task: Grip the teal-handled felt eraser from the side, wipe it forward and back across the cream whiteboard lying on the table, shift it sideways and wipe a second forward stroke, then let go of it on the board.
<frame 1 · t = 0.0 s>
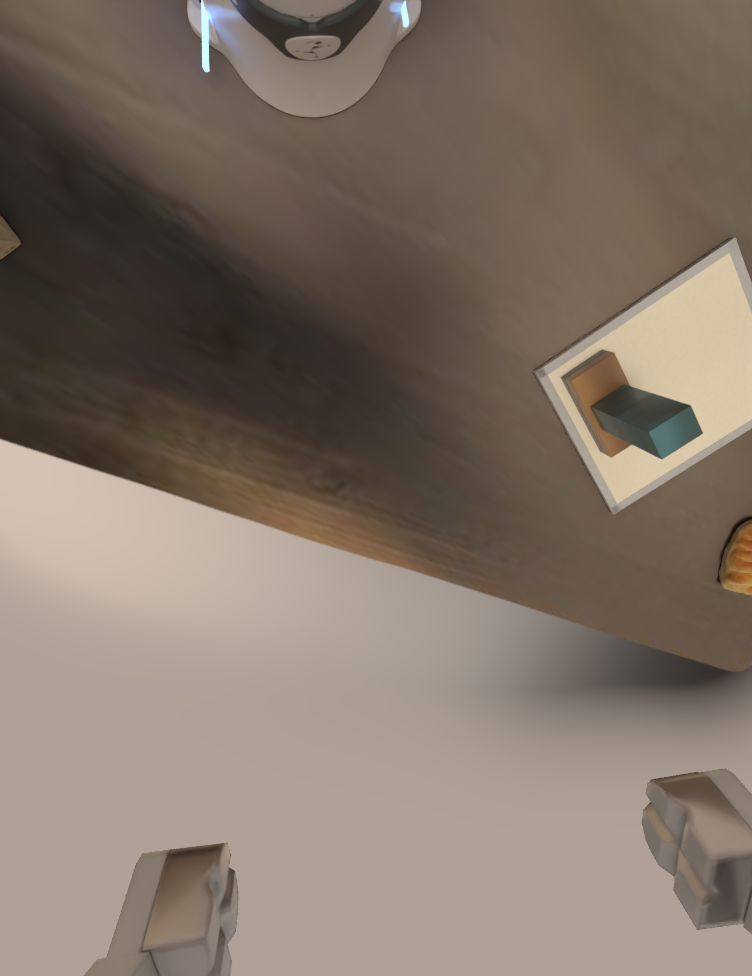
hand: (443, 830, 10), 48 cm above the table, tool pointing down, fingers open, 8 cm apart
whiteboard: (664, 386, 58), on the table
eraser: (600, 402, 57), point 1 cm above the table, touching whiteboard
pastry: (740, 554, 67), on the table
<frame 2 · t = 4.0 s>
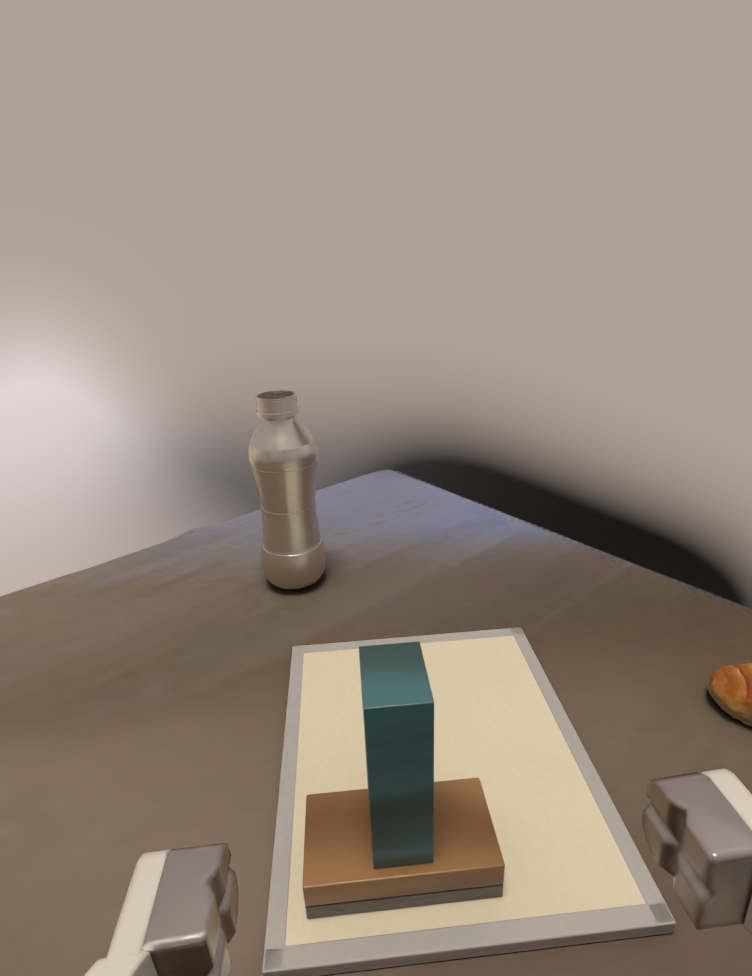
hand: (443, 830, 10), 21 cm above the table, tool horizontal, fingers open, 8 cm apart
whiteboard: (431, 755, 36), on the table
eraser: (399, 857, 29), point 1 cm above the table, touching whiteboard
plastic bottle: (296, 581, 57), on the table
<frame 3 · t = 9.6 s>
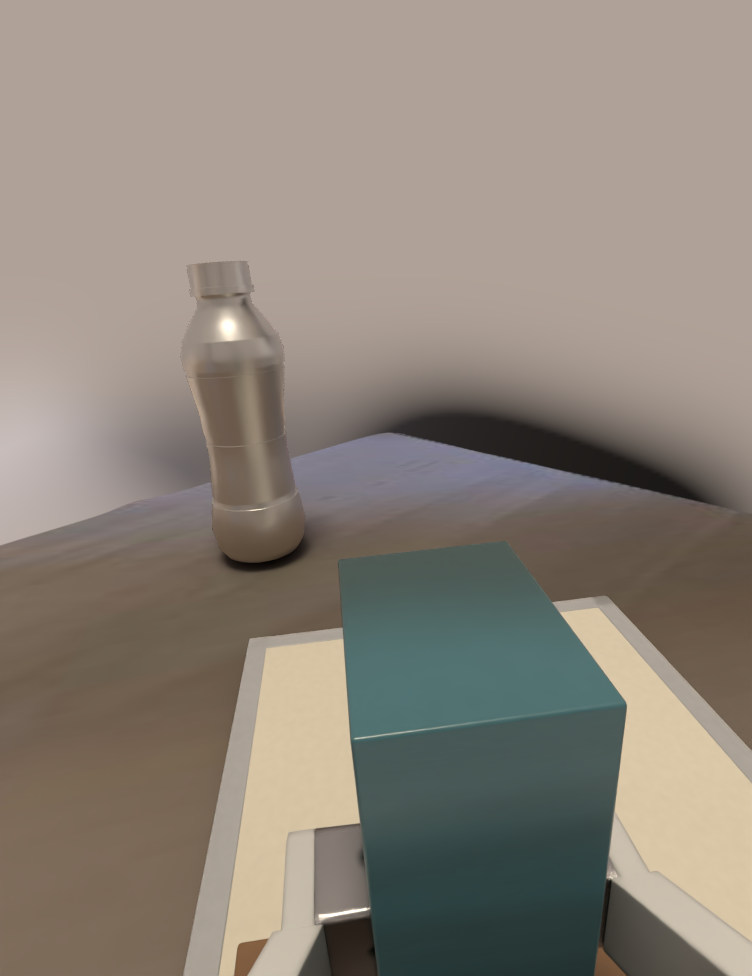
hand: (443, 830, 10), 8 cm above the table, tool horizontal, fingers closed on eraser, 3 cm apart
whiteboard: (496, 820, 19), on the table
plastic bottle: (265, 554, 40), on the table
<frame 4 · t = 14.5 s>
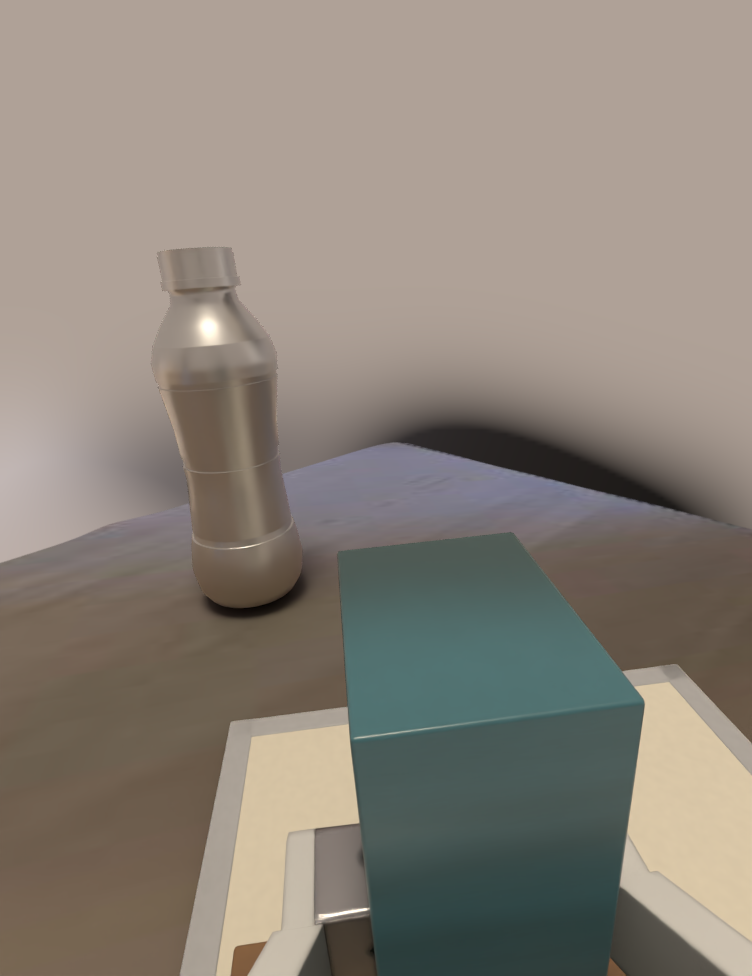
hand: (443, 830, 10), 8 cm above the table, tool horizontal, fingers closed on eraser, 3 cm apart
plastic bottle: (255, 595, 34), on the table
when the fingers open (8 cm above the table, at t = 19.3 s): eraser stays where it is, resting on whiteboard.
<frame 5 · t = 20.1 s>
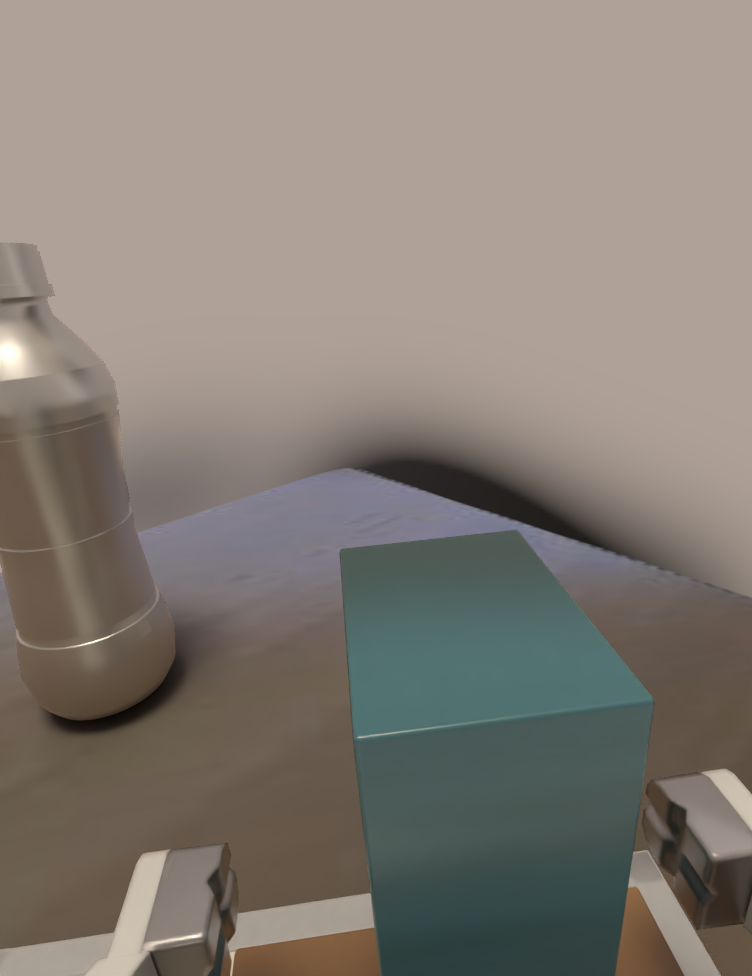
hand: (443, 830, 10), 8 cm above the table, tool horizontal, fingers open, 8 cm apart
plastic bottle: (116, 692, 27), on the table
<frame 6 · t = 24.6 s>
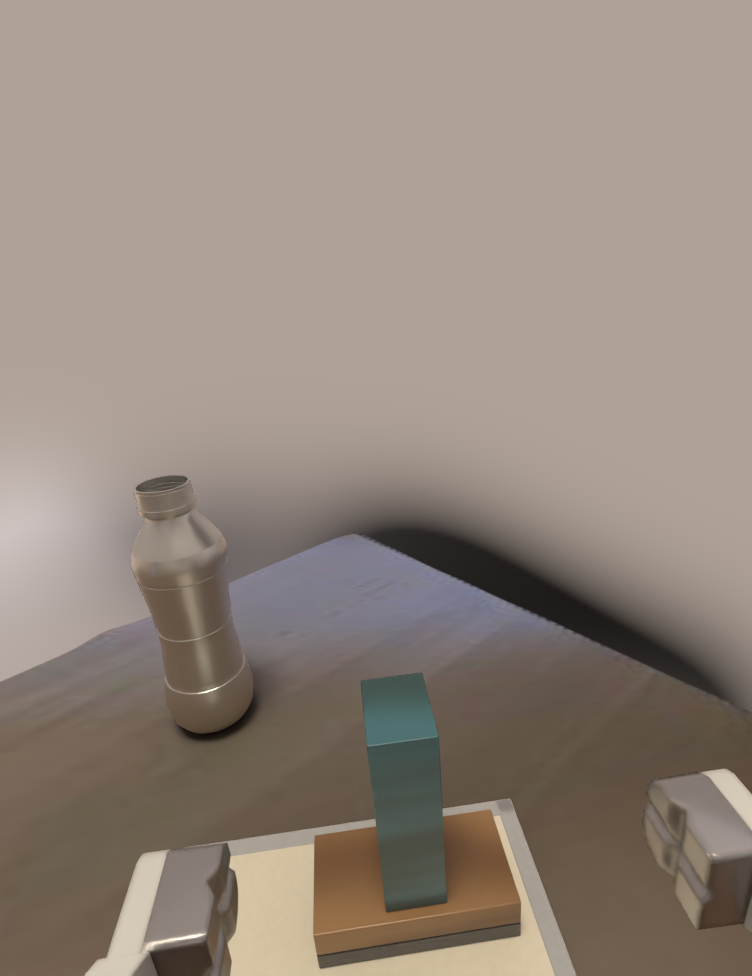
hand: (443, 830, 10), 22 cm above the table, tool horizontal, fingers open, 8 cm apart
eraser: (413, 898, 29), point 1 cm above the table, touching whiteboard
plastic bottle: (217, 715, 43), on the table
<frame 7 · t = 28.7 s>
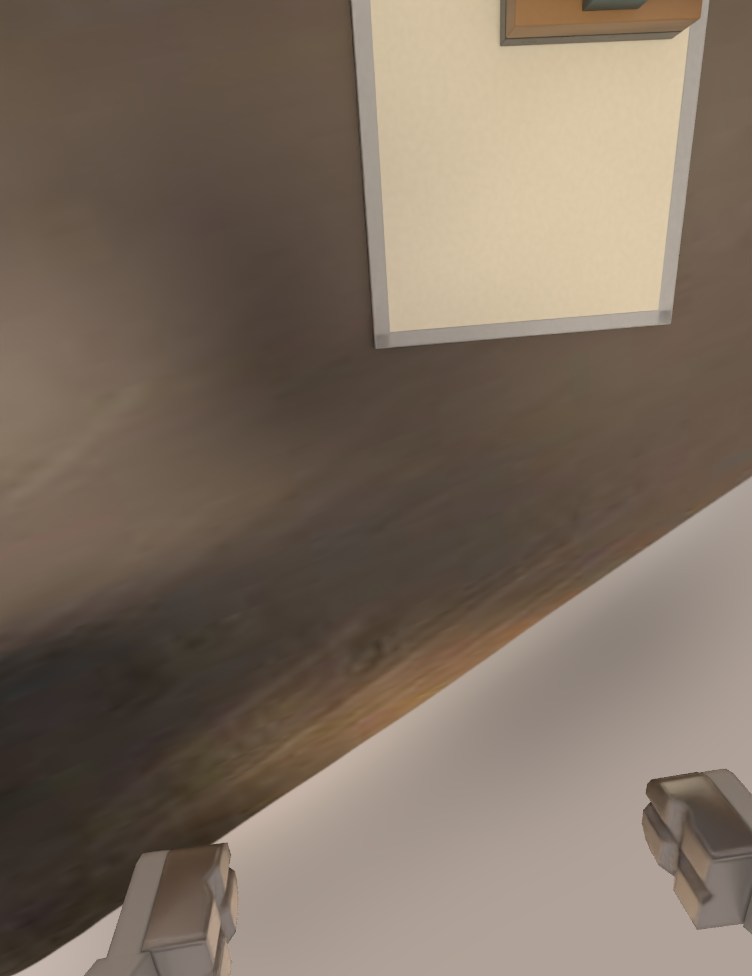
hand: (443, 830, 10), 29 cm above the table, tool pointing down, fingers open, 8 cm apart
whiteboard: (526, 136, 32), on the table
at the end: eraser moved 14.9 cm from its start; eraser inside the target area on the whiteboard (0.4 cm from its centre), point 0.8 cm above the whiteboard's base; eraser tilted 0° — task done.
